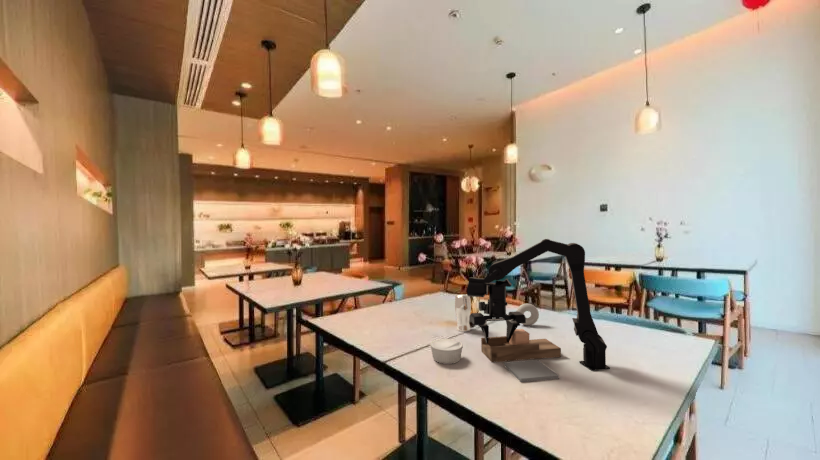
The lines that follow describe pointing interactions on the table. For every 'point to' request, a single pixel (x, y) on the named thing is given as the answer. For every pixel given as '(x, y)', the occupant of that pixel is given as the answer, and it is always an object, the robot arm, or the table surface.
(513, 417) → the table surface
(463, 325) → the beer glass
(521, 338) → the block
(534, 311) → the donut
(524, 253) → the robot arm
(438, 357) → the ramekin
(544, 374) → the mat
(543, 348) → the divided wooden tray
